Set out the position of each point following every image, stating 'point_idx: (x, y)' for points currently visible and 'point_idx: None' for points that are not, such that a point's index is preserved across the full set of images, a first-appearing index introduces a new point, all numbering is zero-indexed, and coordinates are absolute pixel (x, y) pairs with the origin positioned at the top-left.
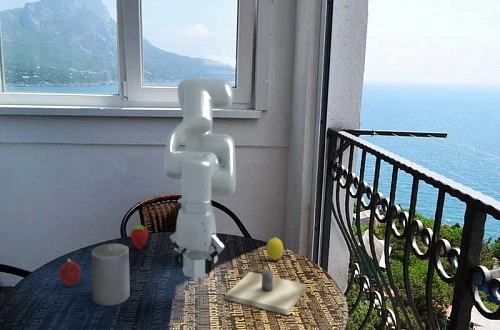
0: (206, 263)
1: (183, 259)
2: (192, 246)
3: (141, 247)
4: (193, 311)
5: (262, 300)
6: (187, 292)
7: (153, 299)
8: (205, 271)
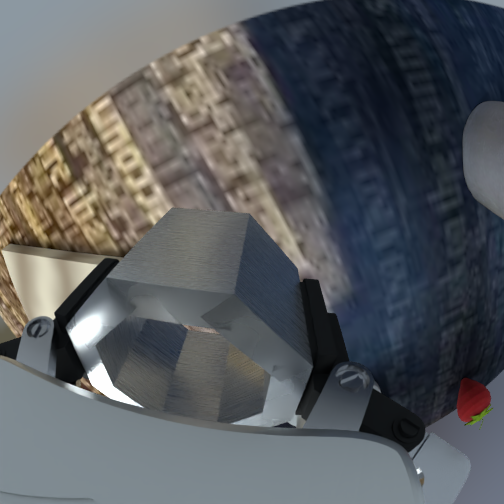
0: (70, 298)
1: (282, 310)
2: (83, 436)
3: (461, 383)
4: (201, 139)
5: (48, 270)
6: (293, 258)
7: (390, 170)
8: (112, 268)
